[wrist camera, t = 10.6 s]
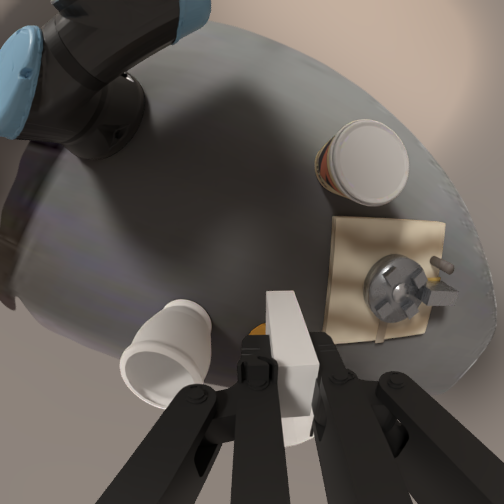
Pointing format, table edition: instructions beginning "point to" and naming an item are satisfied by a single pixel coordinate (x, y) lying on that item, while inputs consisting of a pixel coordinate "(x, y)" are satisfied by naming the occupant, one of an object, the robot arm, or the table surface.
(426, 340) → the table surface
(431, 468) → the robot arm
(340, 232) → the housing plate
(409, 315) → the grey notched machine part
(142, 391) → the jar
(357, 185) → the coffee cup
